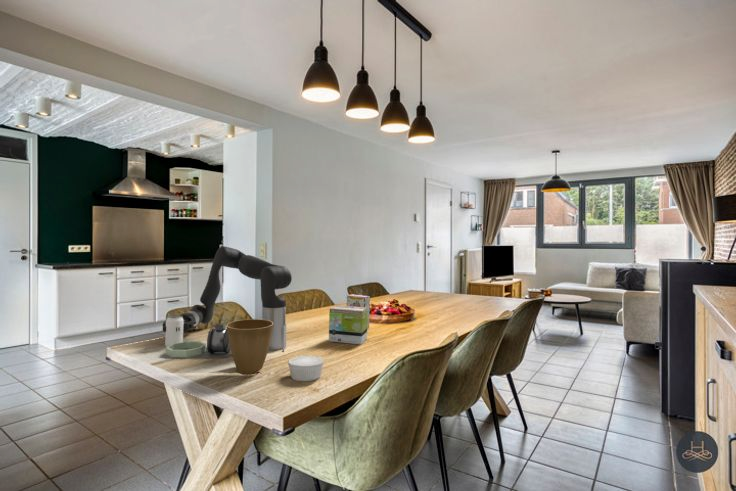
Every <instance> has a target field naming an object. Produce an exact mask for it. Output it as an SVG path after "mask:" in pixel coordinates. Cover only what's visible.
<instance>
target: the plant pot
mask: <svg viewBox="0 0 736 491" xmlns="http://www.w3.org/2000/svg"><path fill="white" fill-rule="evenodd" d="M226 329H227V333H228V339H229V345H230V349H231V356H232V359H233V360H232V361H233V362H234V365H235V367H236V370H237V372H238V374H239V375H244V376H246V375H247V376H248V375H249V376H251V375H257V374H258V373H260V371H261V370H262V369H263V367H264V365H265V362H266V358H267V355H268V352H269V350H268V349H269V345H270V340H271V335H272V329H273V322H271V321H268V320H262V318H259V319H258V318H250V319H249V318H248V319H240V320H239V319H238V320H233V321H230V322H228V323H226Z"/></svg>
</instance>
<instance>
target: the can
mask: <svg viewBox="0 0 736 491" xmlns="http://www.w3.org/2000/svg"><path fill="white" fill-rule="evenodd" d="M182 317H183V316H181V314H172V315H168V316H167V318H166V320H165V321H166V332H165V336H164V337H165V338H164V340H165V341H164V346H165V348H166V347H168V346H169V345H171V344H174V343H180V342H184V331H183V323H184V320H183V318H182ZM176 327H177V332H176ZM179 327H180V331H178V328H179Z"/></svg>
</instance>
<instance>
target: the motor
mask: <svg viewBox="0 0 736 491" xmlns="http://www.w3.org/2000/svg"><path fill="white" fill-rule="evenodd" d="M226 325H227V323H225V322H223V323H221V322H220V323H219V322H218V323H216V324H215V325H214V327H212V328H210V329H209V331H208V332H207V333H208V334H207V338H206V347H207V350H208V352H209V353H213V352H225V353H229V352H230V351H231V349H230V345H229V339H228V333H227V326H226Z"/></svg>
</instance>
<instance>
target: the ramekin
mask: <svg viewBox="0 0 736 491" xmlns="http://www.w3.org/2000/svg"><path fill="white" fill-rule="evenodd" d="M287 364H288V366H289V374H290V377H291V378H292V379H293V380H294V381H297V382H311V381H316V380H318V379H319V378H320V377H321V376H322V371H323V365H324V358H322V357H319V356H314V355H302V356H297V357H293V358H291V359H289V360H288V361H287Z"/></svg>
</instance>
